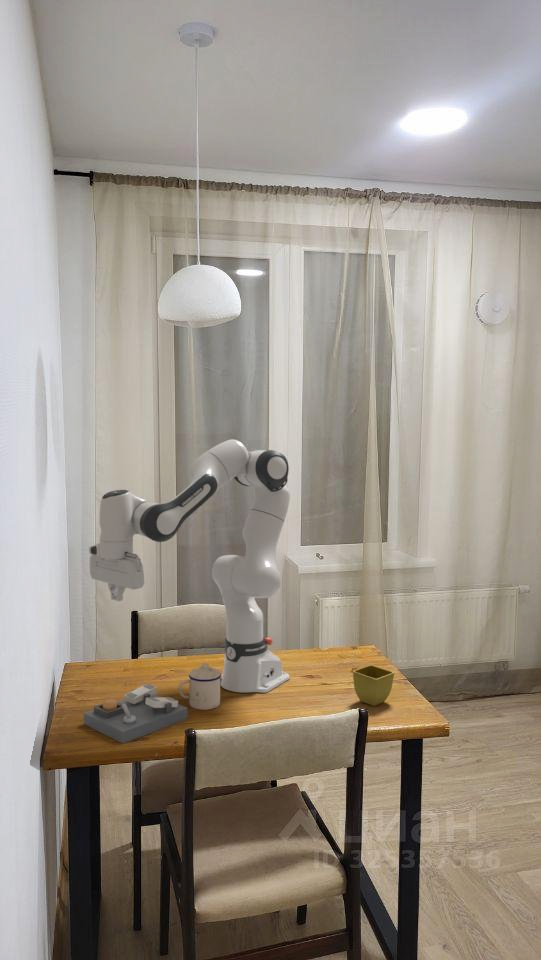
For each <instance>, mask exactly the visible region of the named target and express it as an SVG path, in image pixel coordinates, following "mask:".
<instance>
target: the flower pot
mask: <svg viewBox="0 0 541 960" xmlns="http://www.w3.org/2000/svg"><path fill="white" fill-rule="evenodd" d="M352 678H353V679H352V680H353V686H354V688H353V689H354V691H355V694H356V696H357V698H358V699H359V701H360V702H362V703H365V704H368V705H370V706H372V707H375V706H377V705H380V704H382V703H384V702H385V701H387V699H388V697H389V696H390V694H391V691H392V687H393V684H394V683H393V682H394V678H395V672H394V671H391V670H388V669H385V668H382V667H379V666H376V665H373V664H369V665H366V666H363V667H361V668H358V669H355V670H353V671H352Z"/></svg>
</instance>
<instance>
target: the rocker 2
mask: <svg viewBox="0 0 541 960" xmlns="http://www.w3.org/2000/svg"><path fill="white" fill-rule="evenodd" d="M167 703H172V707H177V706H178V704H179V700H178V699H174V698H172V697H169V696H165V697H164V696H163V697H161V696H159V697H154V698H153V697H148V698H146V701H145V704H147V705H149V706H151V707H154V708H165V704H167Z"/></svg>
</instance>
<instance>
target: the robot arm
mask: <svg viewBox="0 0 541 960" xmlns="http://www.w3.org/2000/svg"><path fill="white" fill-rule="evenodd" d="M289 470H290V468H289V462H288V458H287V457H286V456H285V455H284V454H283V453H282V452H279V451H276V450H274V449H273V450H272V449H267V450H266V449H265V450H263V449H258V450H253V451H248V449H247V448H246V446H245V445H244V443H242V442H241V441H239V440H238V439H228V440H224V441H223V442H220V443H219V444H216V445H214V446H213V447H212V448H210V449H208V450H207V451H205V452H204V453H202V454H200V455H199V456H198V457H197V458H196V459H194V460H193V462H192V463H191V464H190V465H189V467H188V474H187V475H188V480H189V482H190V484H189V485H188V486H187V487H185V489H183V490H182V491H181V492H180V493H178V495H175V497H174V498H173V499H171V500H170V501H168V502H167V501H166V502H162V503H161V502H160V503H159V502H158V503H157V502H154V501H151V500H150V501H149V500H147V499H144V498H141V497H138V496H137V495H135V494H133V493H132V492H131V491H129V490H127V489H116V490H111V491H109V492H106V493H105V494H103V495H102V497H101V500H100V506H99V527H100V536H99V543H96V544H93V545H90V546H89V547H88V553H89V554H90V557H89V574H90V578H91V579H92V580H95V581H98V582H101V583H102V582H103V583H107V587H108V590H109V593H110V599H111V600H113V601H116V602H122V601H123V600H124V592H125V590H126V589H129V590H138V589H142V588H143V587H144V586H145V573H144V567H143V563H142V560H141V558H140V557H139V555H138V554H136V553H134V541H133V540H134V536H135V535H140V536H143V537H146V538H148V539H150V540H152V541H153V542H157V543H163V542H167V541H169V540H170V539H172V538H173V537H174V536H175V535H176V534H177V533H178V531H179V530H180V528H181V527H182V525H183V523H184V522H185V520H186V519H188V518H189V517H190V516H191V515H192V514H194V513H195V512H196V511H197V510H198V509H199V508H200V507H201V506H203V505H204V504H205V503H206V502H207V501H208V500H209V499H211V497H213V495H214V494H215V493H216V492H217V491H218V490H219V489H221V488H222V487H224V486H225V485H226V484H228V483H229V482H231V480H232V479H234V481H236V482H237V483H238V484H240V485H241V486H244V487H253V489H254V499H253V502H252V505H251V507H250V510H249V511H248V515H247V518H246V520H245V522H244V526H243V529H242V531H241V532H242V533H241V534H242V539H243V540H244V542H245V555H244V556H242V555H237V554H226V555H220V556H219V557H218V558H217V559H216V560H214V562H213V565H212V568H211V577H212V580H213V582H214V583H215V584H216V586H217V587H218V590H219V593H220V595H221V597H222V602H223V605H224V610H225V617H226V618H225V619H226V622H225V623H226V638H225V641H224V651H225V653H224V661H223V671H222V673H221V677H220V687H222V688H223V689H224V690H227V691H228V692H229V691H230V692H234V693H264V694H266V693H269V692H270V691H272V690H273V689H275V688H276V687H278V686H280V685H282V684H283V683H285V682H287V681H288V680H290V679H291V676H290V675H289V674H288V672H285V671H283V664H282V661H281V659H280V658H279V657H278V656H277V655H275V654H274V653H272V651H270V650H269V649H268V647H267V645H268V646H272V644H273V642H274V641H273V638H269V637H264V613H263V611H262V609H261V608H260V606H258V604H257V601H256V599H269V598H270V599H271V598H273V597H274V596H275V595H276V594H277V593H278V591H279V590H280V588H281V585H282V584H281V583H282V575H281V573H280V571H279V569H278V566H277V559H276V553H277V545H278V542H279V538H280V535H281V533H282V529H283V526H284V524H285V520H286V517H287V513H288V510H289V505H290V499H291V492H290V489H289V487H287V486H286V485H287V483H288V475H289Z"/></svg>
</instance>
